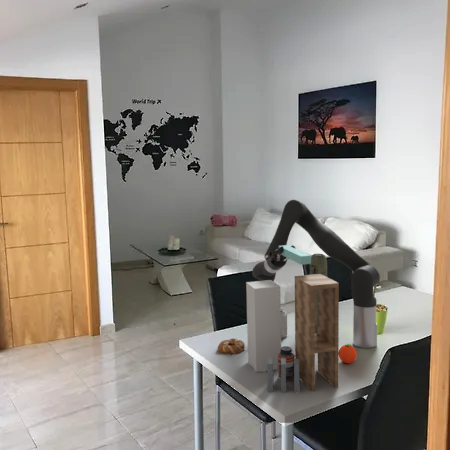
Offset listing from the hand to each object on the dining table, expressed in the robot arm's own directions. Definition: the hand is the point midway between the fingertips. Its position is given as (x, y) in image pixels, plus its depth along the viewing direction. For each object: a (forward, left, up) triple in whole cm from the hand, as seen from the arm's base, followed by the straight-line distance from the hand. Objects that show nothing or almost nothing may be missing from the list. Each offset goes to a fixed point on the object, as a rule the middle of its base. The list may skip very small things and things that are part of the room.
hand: (288, 248), depth 197 cm
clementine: (-22, +6, -44) cm, 50 cm away
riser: (+10, +10, -44) cm, 46 cm away
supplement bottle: (+1, +21, -44) cm, 49 cm away
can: (+5, -21, -44) cm, 49 cm away
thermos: (-13, -30, -44) cm, 55 cm away
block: (-2, +5, -3) cm, 6 cm away
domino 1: (+7, +30, -44) cm, 53 cm away
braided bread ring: (+24, -5, -44) cm, 51 cm away
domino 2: (+2, +30, -44) cm, 53 cm away
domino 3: (-2, +30, -44) cm, 53 cm away
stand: (-9, +23, -44) cm, 50 cm away
